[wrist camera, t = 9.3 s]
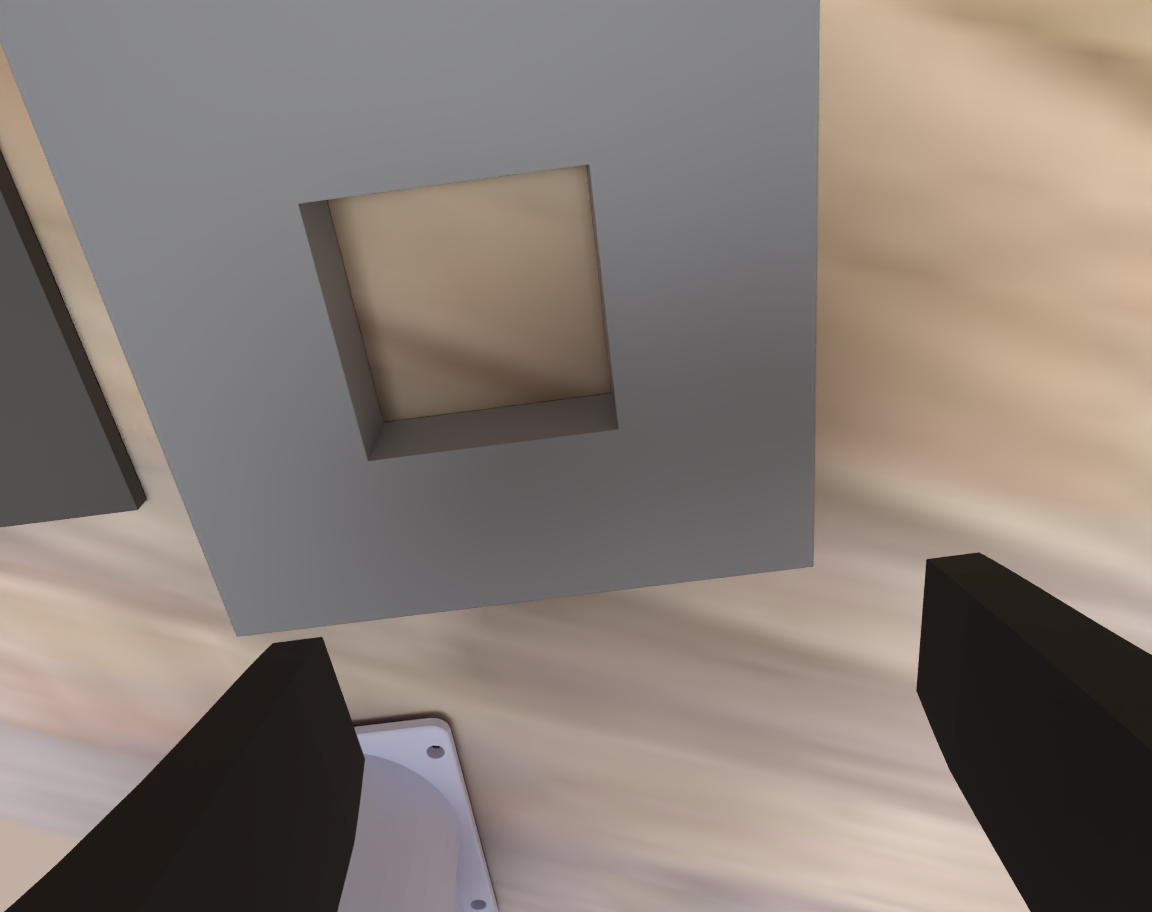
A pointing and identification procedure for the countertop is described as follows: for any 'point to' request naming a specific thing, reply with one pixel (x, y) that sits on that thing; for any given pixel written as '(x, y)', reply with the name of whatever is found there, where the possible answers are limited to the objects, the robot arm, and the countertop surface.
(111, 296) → the holder
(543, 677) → the countertop surface
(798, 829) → the countertop surface
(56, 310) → the mat
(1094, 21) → the countertop surface
